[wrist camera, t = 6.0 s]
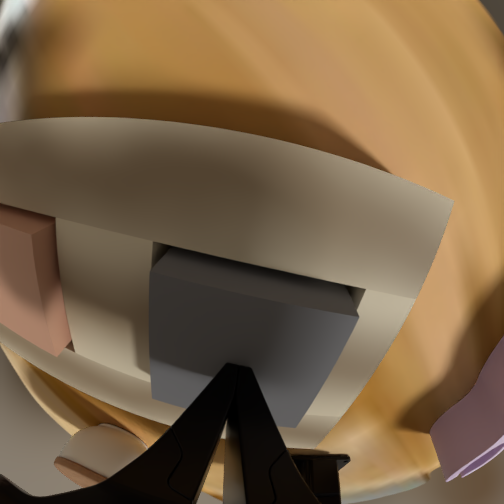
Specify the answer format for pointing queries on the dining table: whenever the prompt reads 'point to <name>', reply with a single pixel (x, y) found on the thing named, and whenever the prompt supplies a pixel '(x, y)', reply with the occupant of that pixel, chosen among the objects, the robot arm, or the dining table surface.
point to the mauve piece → (473, 422)
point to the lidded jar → (98, 453)
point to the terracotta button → (31, 279)
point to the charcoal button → (244, 329)
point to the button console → (211, 240)
